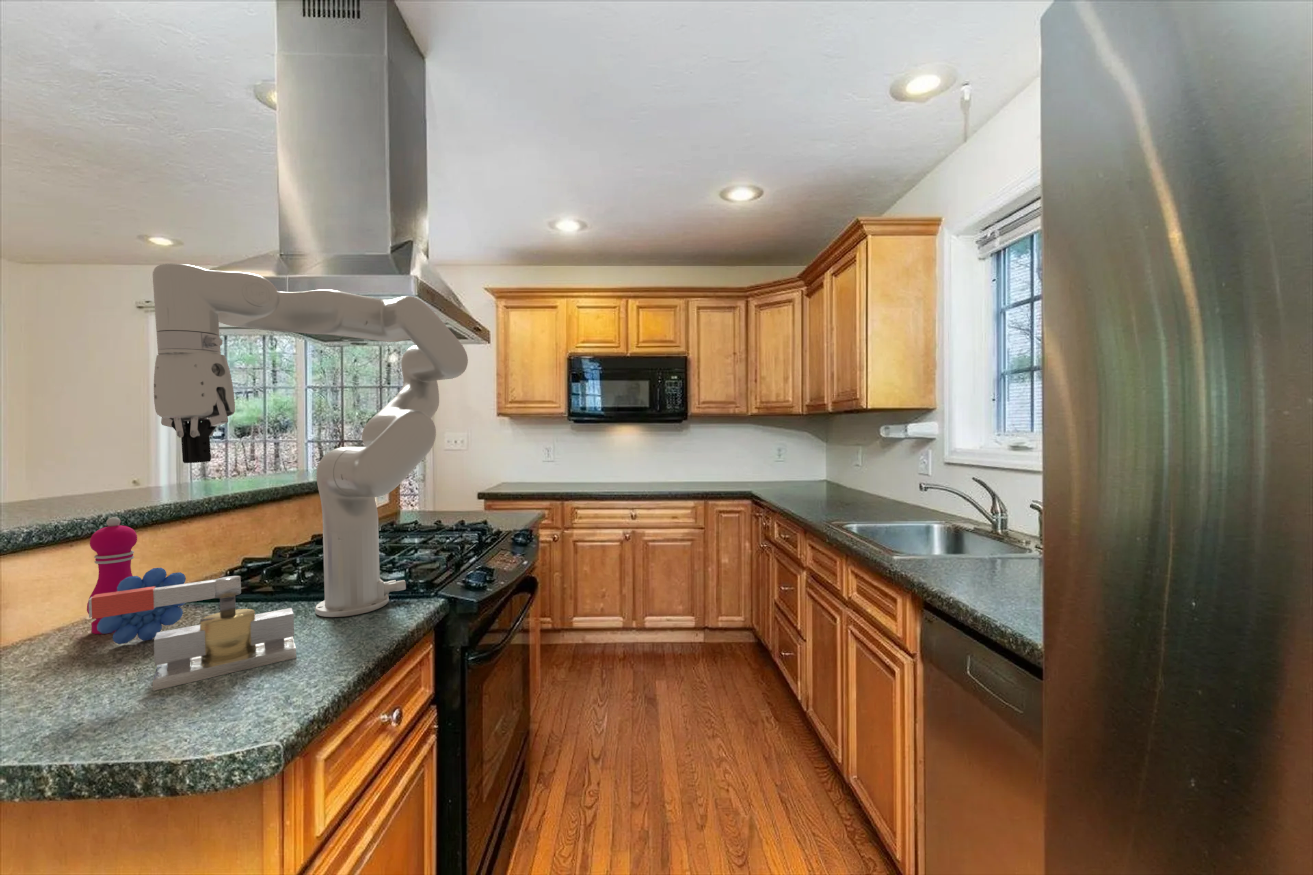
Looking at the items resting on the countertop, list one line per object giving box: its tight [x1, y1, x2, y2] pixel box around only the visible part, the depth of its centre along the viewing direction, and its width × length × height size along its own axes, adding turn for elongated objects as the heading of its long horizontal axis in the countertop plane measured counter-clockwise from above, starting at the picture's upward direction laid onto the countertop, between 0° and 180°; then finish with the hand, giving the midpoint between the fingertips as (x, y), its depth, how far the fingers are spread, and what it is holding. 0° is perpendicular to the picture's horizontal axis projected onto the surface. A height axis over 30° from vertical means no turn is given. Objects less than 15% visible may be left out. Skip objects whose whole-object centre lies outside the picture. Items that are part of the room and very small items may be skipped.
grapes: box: [97, 567, 188, 645], centre depth 91 cm, size 12×7×12 cm, turn 136°
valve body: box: [152, 595, 297, 692], centre depth 80 cm, size 16×9×10 cm, turn 128°
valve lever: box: [88, 575, 242, 620], centre depth 76 cm, size 16×3×3 cm, turn 127°
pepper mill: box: [86, 516, 138, 635], centre depth 96 cm, size 7×7×20 cm
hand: (197, 462), depth 85 cm, fingers closed
